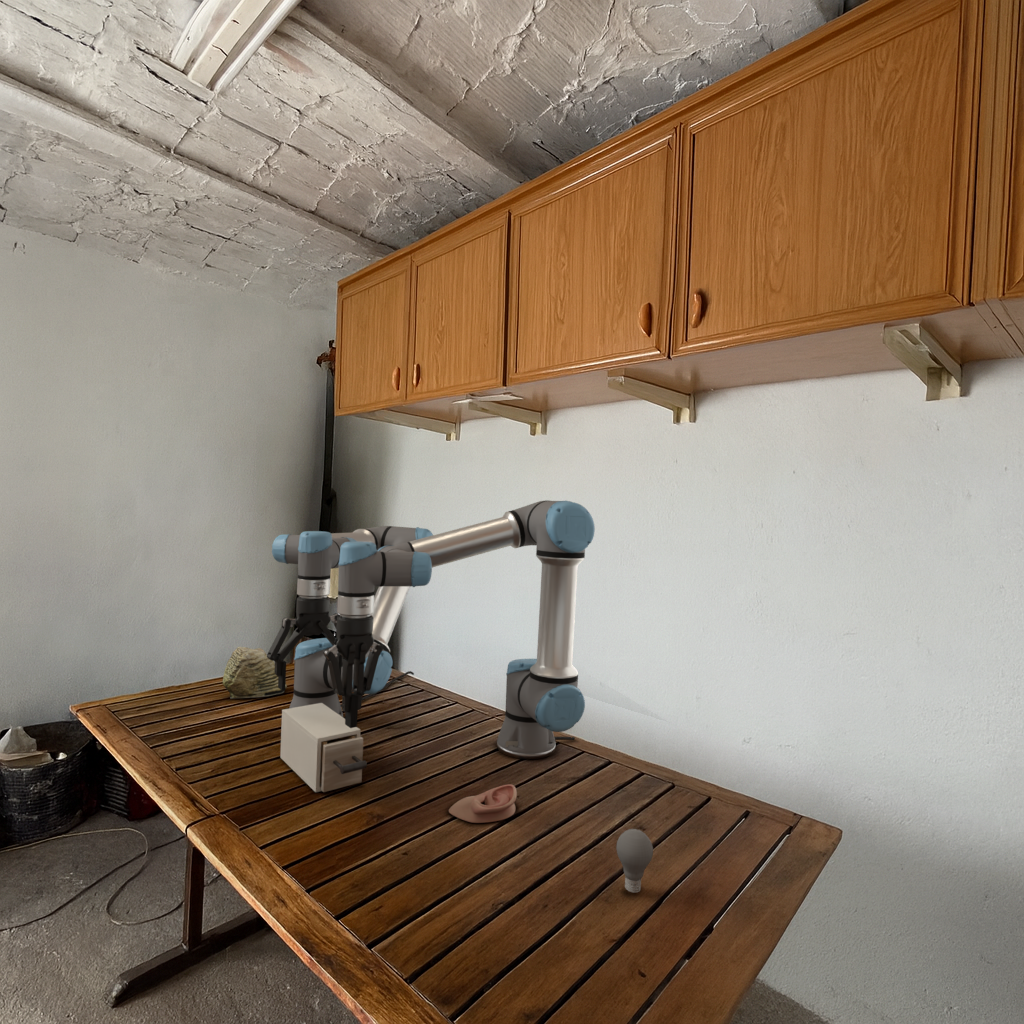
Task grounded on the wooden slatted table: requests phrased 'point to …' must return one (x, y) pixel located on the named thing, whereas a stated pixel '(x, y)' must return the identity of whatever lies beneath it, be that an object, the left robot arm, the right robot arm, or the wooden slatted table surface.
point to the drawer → (341, 762)
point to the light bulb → (634, 857)
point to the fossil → (250, 674)
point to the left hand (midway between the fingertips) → (310, 684)
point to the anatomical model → (487, 805)
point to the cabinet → (310, 738)
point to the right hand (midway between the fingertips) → (351, 725)
